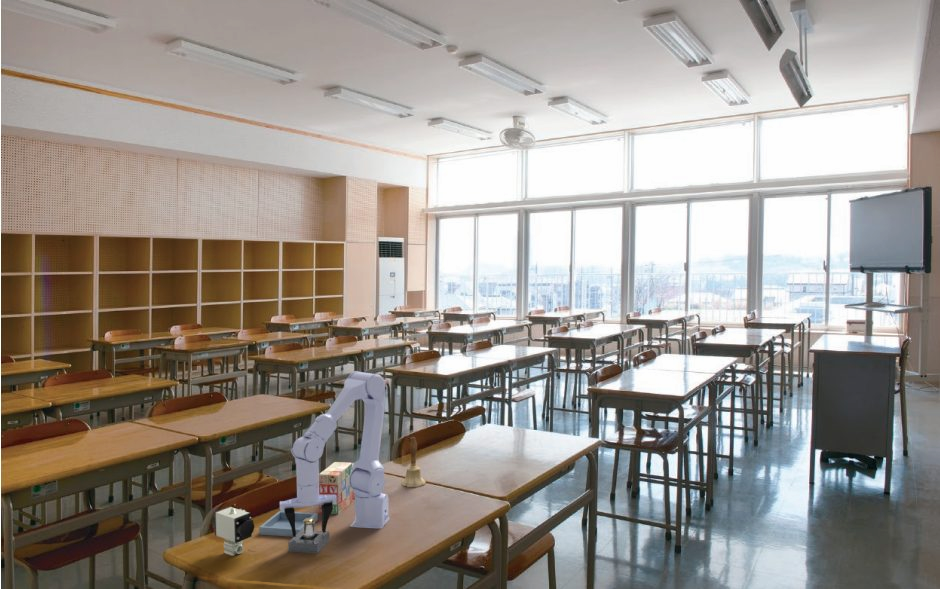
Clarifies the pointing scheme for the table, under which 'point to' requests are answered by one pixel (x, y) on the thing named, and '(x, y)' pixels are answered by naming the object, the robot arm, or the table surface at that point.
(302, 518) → the tray
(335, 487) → the stack of blocks
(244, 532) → the pneumatic valve
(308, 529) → the small glass bottle
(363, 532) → the table surface
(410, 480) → the hand bell
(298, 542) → the block
